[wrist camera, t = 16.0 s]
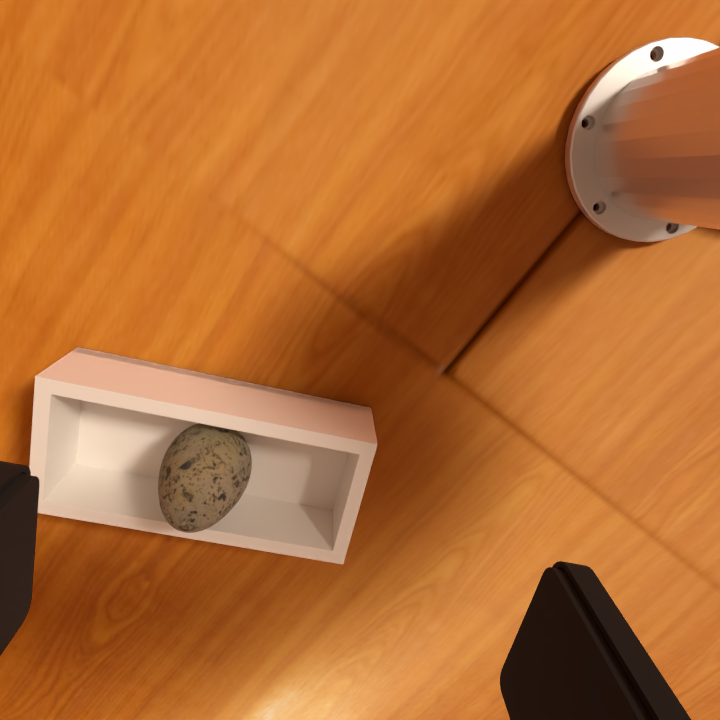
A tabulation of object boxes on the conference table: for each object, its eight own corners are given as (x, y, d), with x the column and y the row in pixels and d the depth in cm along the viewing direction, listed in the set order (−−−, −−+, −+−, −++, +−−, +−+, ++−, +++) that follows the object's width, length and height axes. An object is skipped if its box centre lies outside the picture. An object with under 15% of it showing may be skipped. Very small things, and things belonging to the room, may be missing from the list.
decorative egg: (272, 432, 41) (255, 509, 32) (231, 488, 43) (203, 578, 33) (203, 391, 40) (164, 459, 30) (163, 451, 41) (114, 534, 32)
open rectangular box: (371, 407, 42) (377, 444, 36) (341, 515, 45) (343, 564, 39) (77, 346, 39) (35, 376, 34) (67, 465, 42) (26, 510, 37)
